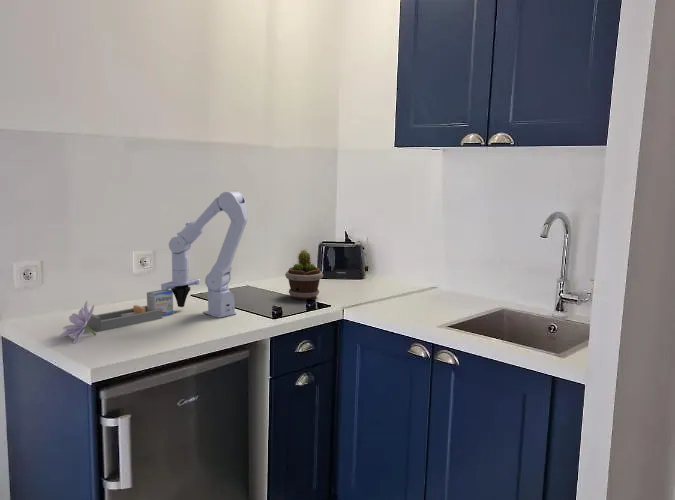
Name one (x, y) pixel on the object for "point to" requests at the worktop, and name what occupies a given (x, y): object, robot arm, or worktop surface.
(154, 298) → the medicine box
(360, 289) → the worktop surface
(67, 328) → the water lily
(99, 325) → the gray tray
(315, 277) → the flowerpot
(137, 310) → the pusher
